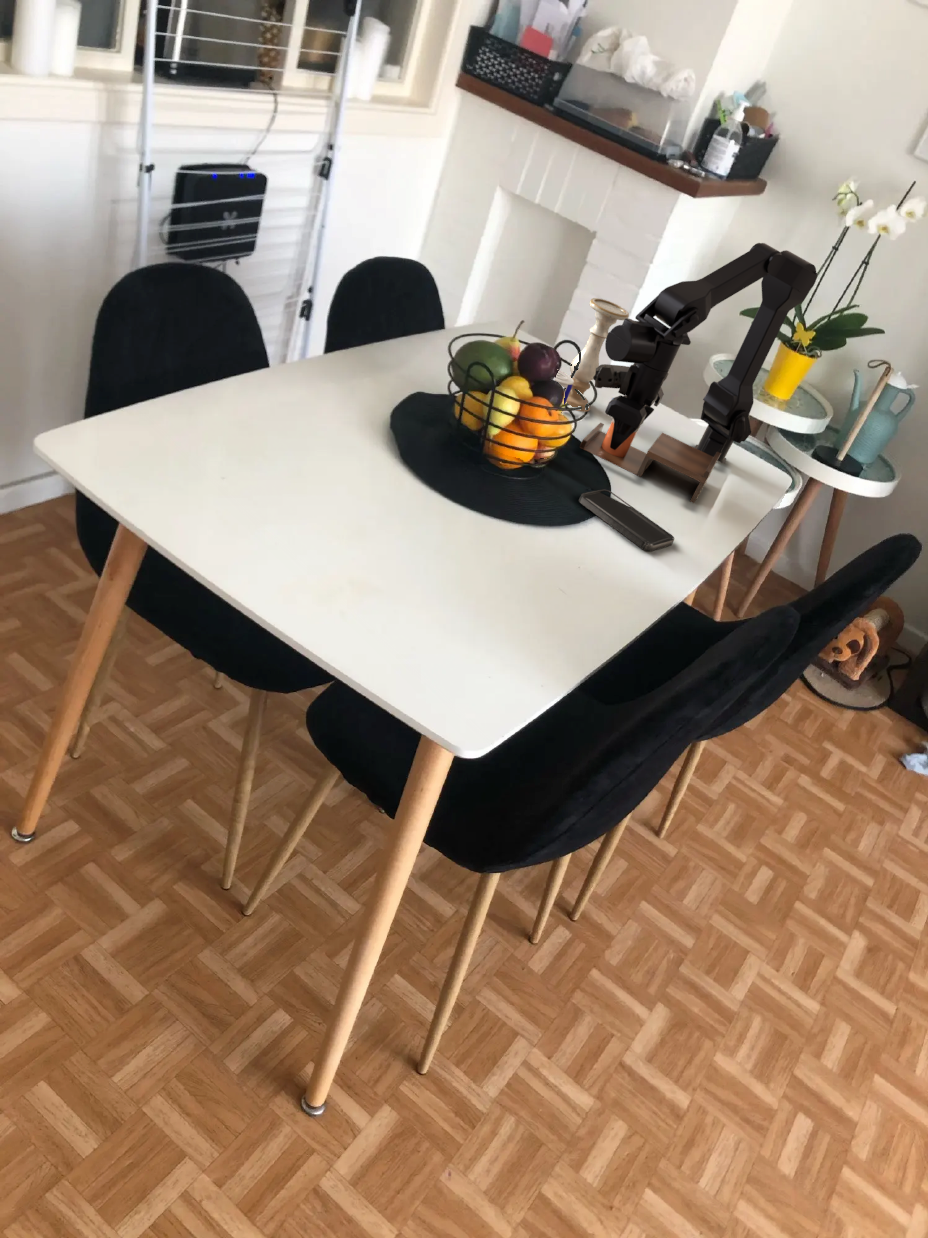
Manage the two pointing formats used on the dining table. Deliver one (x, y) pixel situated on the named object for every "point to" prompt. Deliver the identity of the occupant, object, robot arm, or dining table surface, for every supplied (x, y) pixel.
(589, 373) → the candle holder
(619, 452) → the spice jar
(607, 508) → the phone
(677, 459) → the step rack
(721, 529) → the dining table surface
